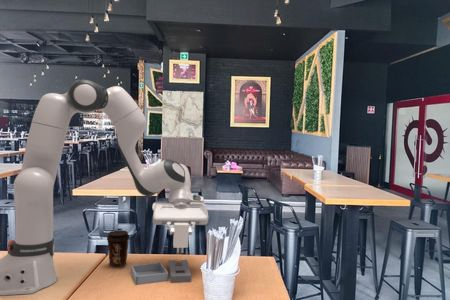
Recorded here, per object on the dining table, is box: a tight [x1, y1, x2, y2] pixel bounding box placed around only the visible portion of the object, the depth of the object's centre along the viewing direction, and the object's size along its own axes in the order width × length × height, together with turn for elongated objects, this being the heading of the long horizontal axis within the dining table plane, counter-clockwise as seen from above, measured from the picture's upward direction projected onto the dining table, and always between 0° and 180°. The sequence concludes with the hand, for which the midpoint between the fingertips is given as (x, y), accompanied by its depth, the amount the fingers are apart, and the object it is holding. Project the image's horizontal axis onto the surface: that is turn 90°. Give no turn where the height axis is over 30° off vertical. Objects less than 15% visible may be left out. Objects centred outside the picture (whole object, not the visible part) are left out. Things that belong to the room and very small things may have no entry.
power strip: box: [168, 258, 192, 284], centre depth 130 cm, size 16×7×3 cm, turn 12°
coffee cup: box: [106, 229, 130, 270], centre depth 136 cm, size 9×8×13 cm
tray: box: [130, 261, 169, 286], centre depth 126 cm, size 11×11×3 cm
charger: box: [172, 223, 190, 254], centre depth 125 cm, size 5×4×10 cm
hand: (181, 234), depth 125 cm, fingers closed on charger, 5 cm apart
